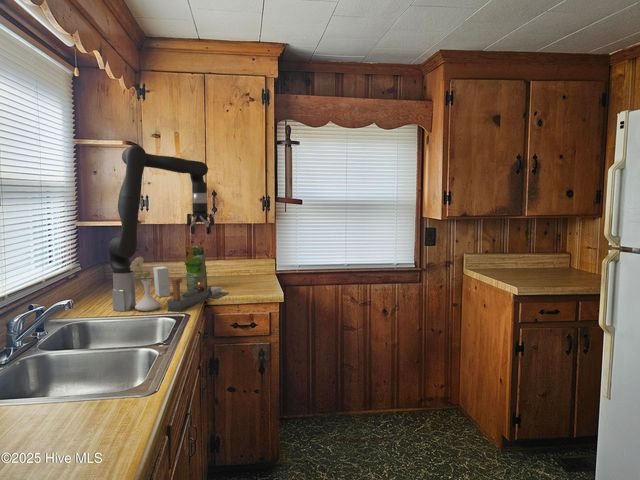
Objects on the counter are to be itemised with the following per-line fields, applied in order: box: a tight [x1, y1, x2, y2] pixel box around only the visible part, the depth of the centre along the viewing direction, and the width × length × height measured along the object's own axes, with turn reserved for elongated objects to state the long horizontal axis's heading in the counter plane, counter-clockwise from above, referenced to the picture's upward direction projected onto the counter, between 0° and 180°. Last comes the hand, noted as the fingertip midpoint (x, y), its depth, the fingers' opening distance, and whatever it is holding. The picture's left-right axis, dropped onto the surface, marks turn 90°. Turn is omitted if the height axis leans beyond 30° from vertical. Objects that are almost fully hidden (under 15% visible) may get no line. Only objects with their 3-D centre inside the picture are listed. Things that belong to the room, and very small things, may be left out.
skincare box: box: [152, 265, 171, 298], centre depth 248 cm, size 8×6×15 cm
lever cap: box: [207, 286, 223, 297], centre depth 247 cm, size 10×5×4 cm, turn 164°
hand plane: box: [167, 277, 210, 313], centre depth 227 cm, size 26×6×14 cm, turn 164°
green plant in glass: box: [184, 244, 208, 291], centre depth 261 cm, size 11×12×25 cm
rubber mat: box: [209, 291, 229, 300], centre depth 247 cm, size 12×12×1 cm
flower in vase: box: [130, 256, 162, 312], centre depth 217 cm, size 13×11×25 cm
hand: (200, 234), depth 242 cm, fingers open, 8 cm apart
